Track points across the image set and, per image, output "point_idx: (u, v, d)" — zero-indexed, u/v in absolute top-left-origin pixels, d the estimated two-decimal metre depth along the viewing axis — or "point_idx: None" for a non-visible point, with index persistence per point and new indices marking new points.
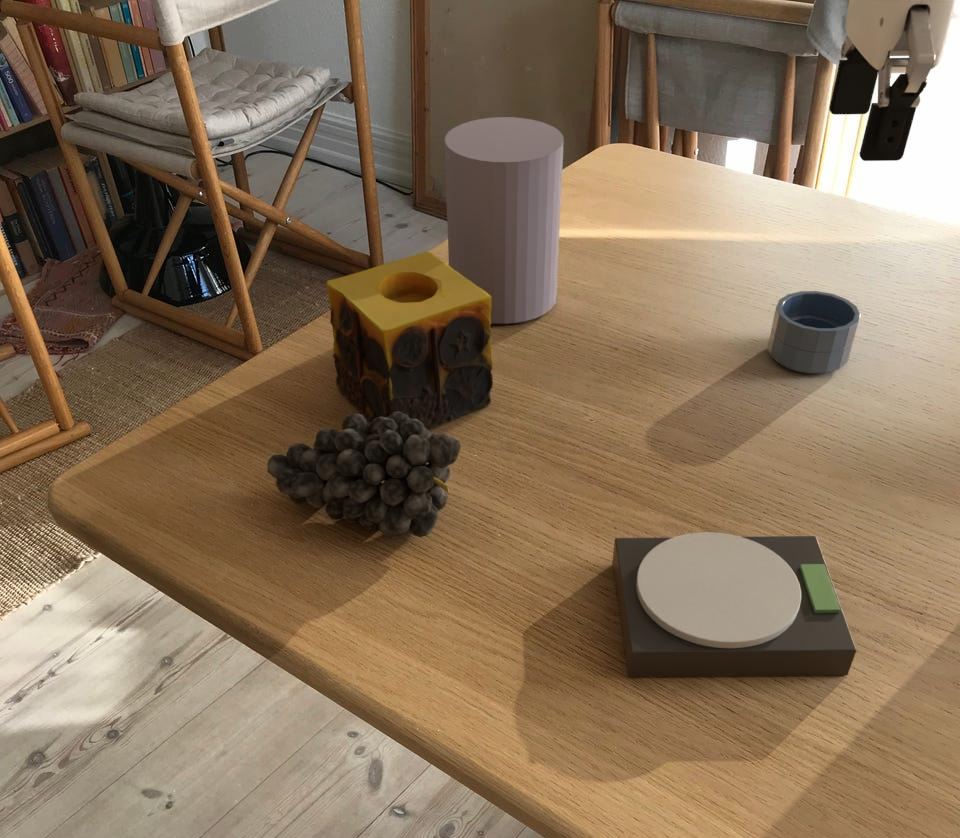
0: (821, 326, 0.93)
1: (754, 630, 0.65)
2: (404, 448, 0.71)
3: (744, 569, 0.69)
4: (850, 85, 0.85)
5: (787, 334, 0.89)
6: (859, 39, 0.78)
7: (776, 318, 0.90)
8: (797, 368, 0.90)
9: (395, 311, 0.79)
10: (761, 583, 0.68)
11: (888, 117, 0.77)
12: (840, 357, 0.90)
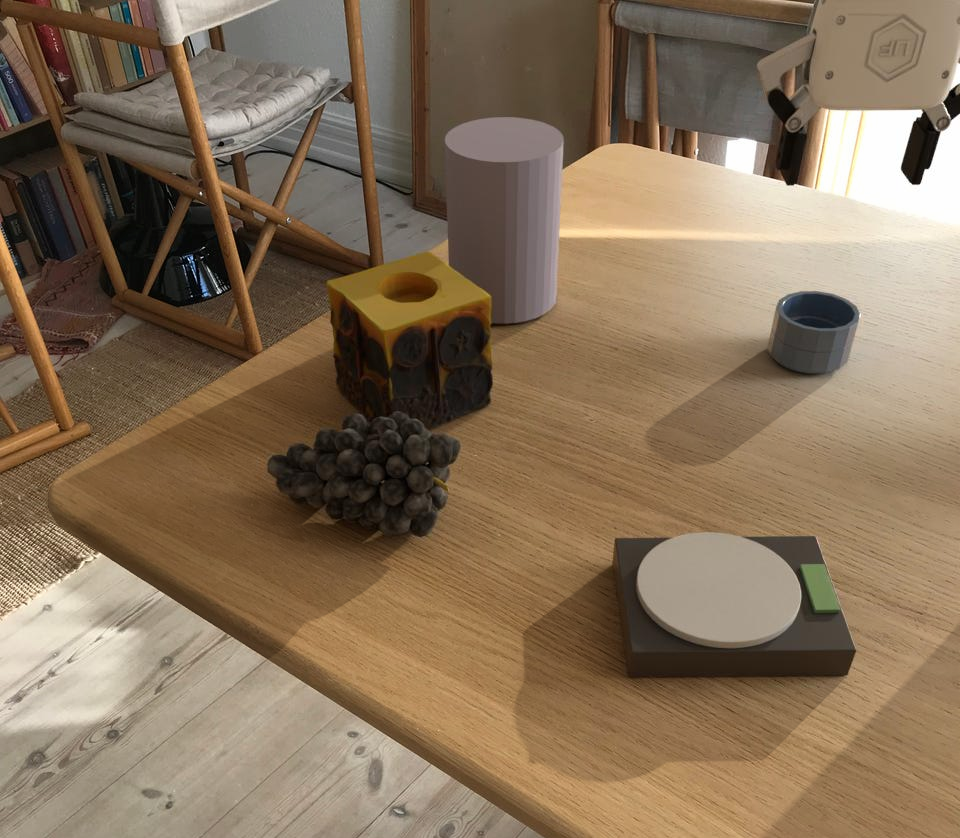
0: (821, 326, 0.93)
1: (754, 630, 0.65)
2: (404, 448, 0.71)
3: (744, 569, 0.69)
4: (911, 145, 0.81)
5: (787, 334, 0.89)
6: None
7: (776, 318, 0.90)
8: (797, 368, 0.90)
9: (395, 311, 0.79)
10: (761, 583, 0.68)
11: (781, 131, 0.80)
12: (840, 357, 0.90)
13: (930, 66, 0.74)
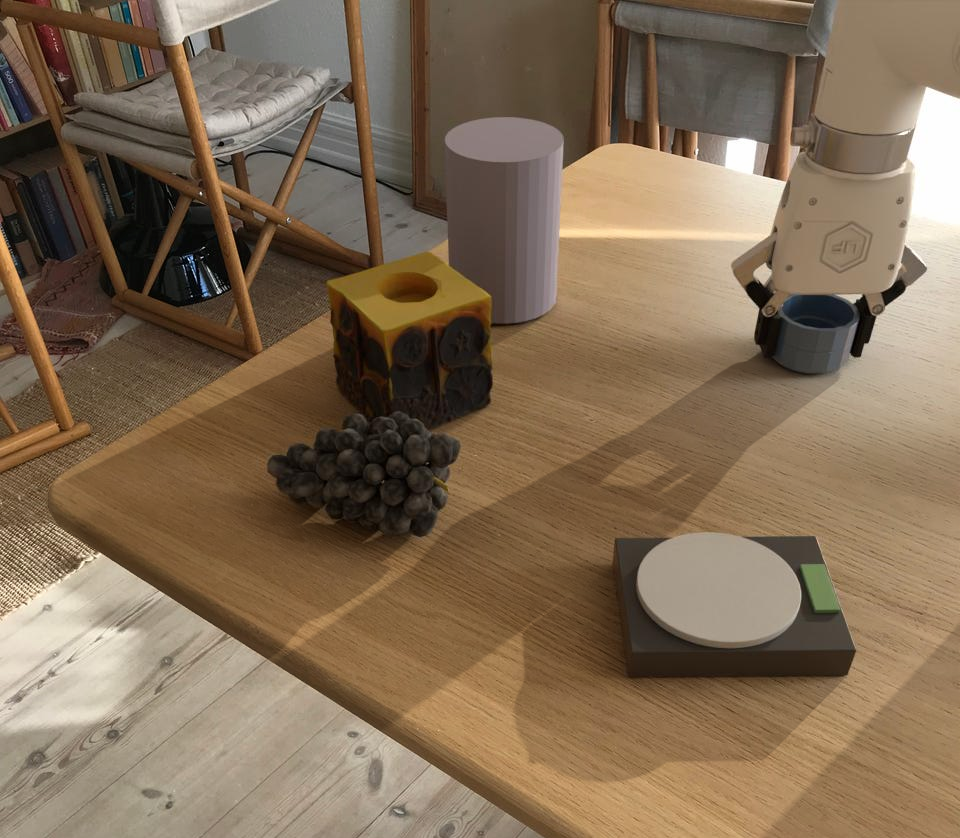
0: (821, 326, 0.93)
1: (754, 630, 0.65)
2: (404, 448, 0.71)
3: (744, 569, 0.69)
4: None
5: (786, 334, 0.89)
6: None
7: None
8: (797, 368, 0.90)
9: (396, 311, 0.79)
10: (761, 583, 0.68)
11: (759, 312, 0.90)
12: (840, 357, 0.90)
13: (877, 261, 0.84)
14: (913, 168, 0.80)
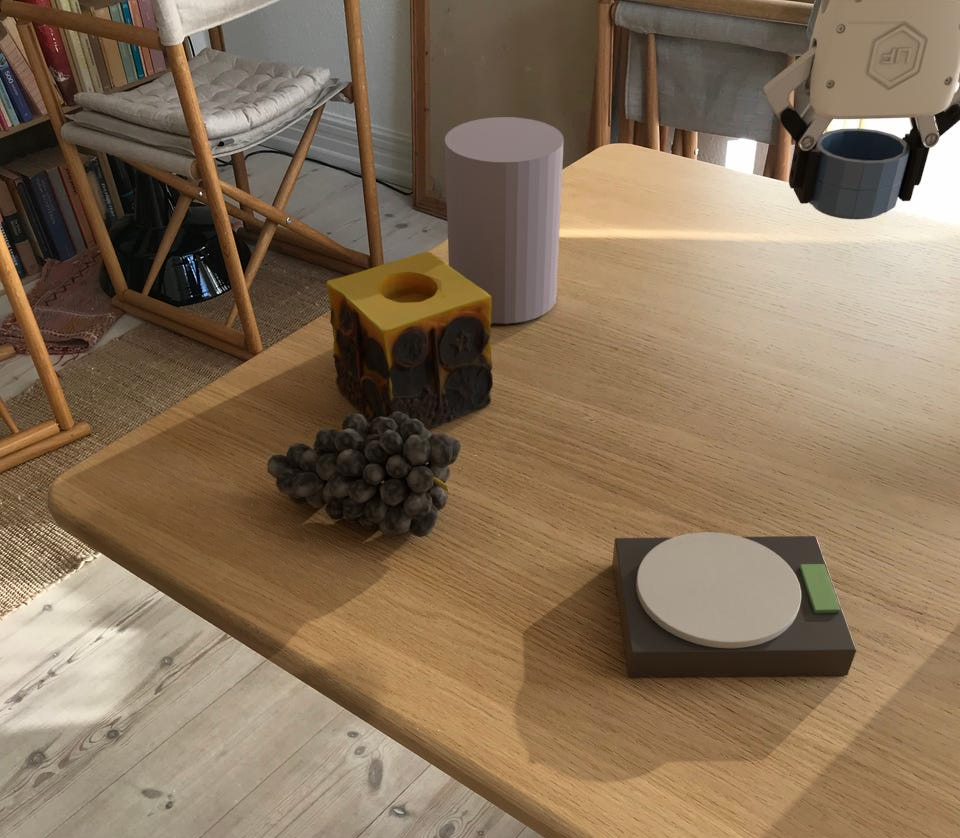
0: None
1: (754, 630, 0.65)
2: (404, 448, 0.71)
3: (744, 569, 0.69)
4: None
5: (826, 172, 0.79)
6: None
7: None
8: (838, 212, 0.80)
9: (395, 311, 0.79)
10: (761, 583, 0.68)
11: (794, 150, 0.80)
12: (888, 197, 0.79)
13: (932, 73, 0.73)
14: None
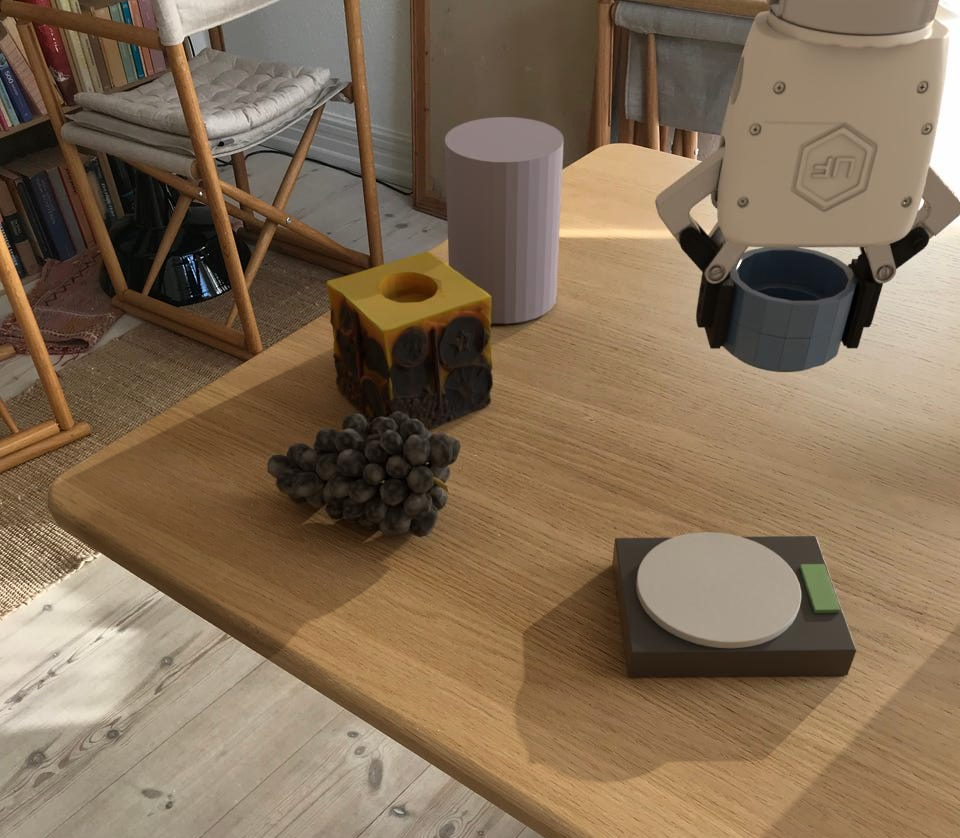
0: (799, 300, 0.61)
1: (754, 630, 0.65)
2: (404, 448, 0.71)
3: (744, 569, 0.69)
4: None
5: (743, 311, 0.58)
6: None
7: None
8: (759, 363, 0.59)
9: (395, 311, 0.79)
10: (761, 583, 0.68)
11: (702, 278, 0.59)
12: (826, 346, 0.58)
13: (885, 191, 0.52)
14: (946, 32, 0.48)
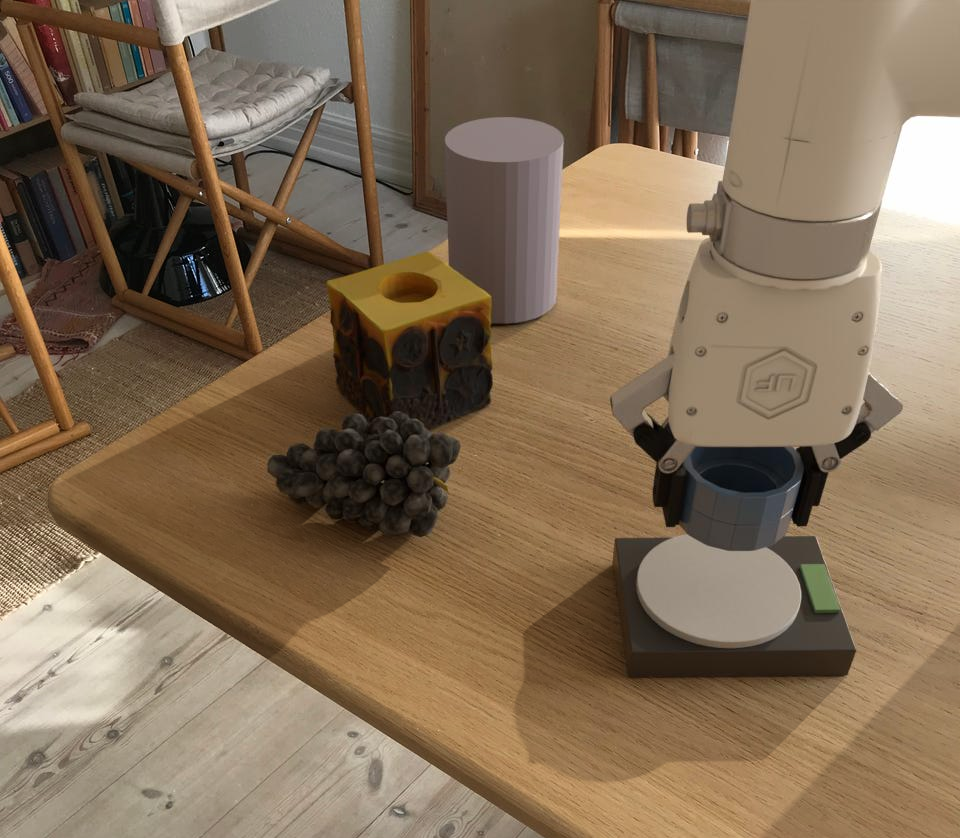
0: (751, 476, 0.64)
1: (754, 630, 0.65)
2: (404, 448, 0.71)
3: (744, 569, 0.69)
4: None
5: (696, 497, 0.60)
6: None
7: None
8: (712, 544, 0.61)
9: (395, 311, 0.79)
10: (761, 583, 0.68)
11: (657, 462, 0.61)
12: (776, 530, 0.61)
13: (826, 402, 0.55)
14: (878, 268, 0.51)
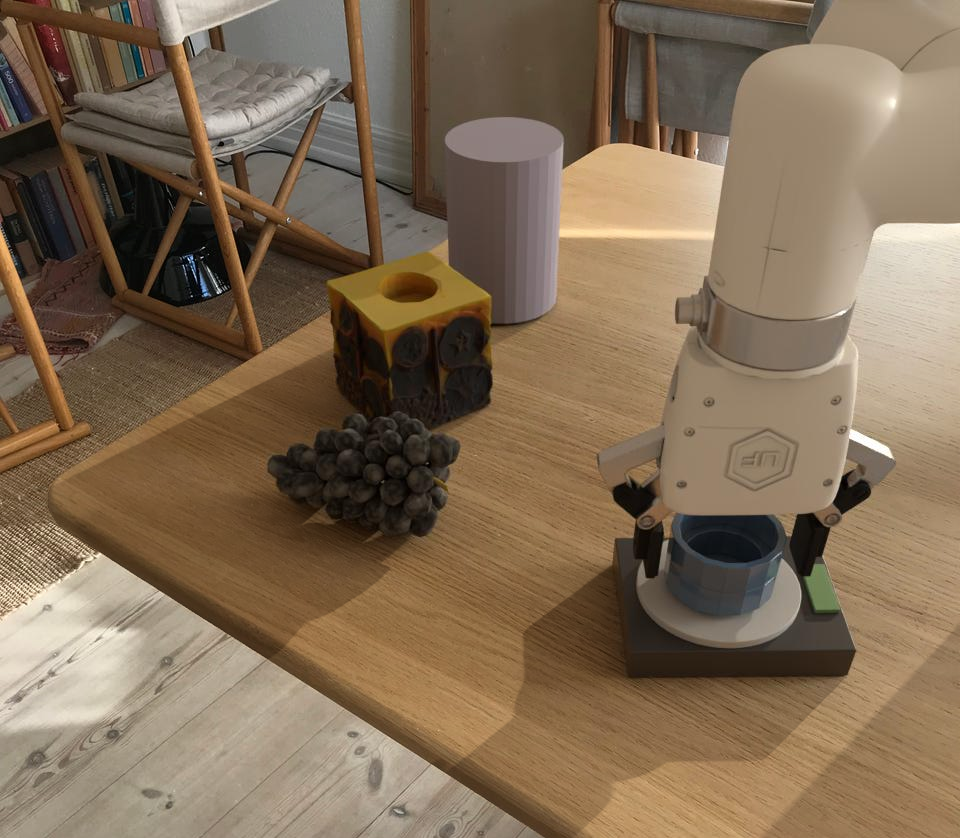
0: (737, 541, 0.68)
1: (754, 630, 0.65)
2: (404, 448, 0.71)
3: None
4: (798, 529, 0.65)
5: (684, 566, 0.64)
6: None
7: (671, 540, 0.65)
8: (700, 609, 0.65)
9: (395, 311, 0.79)
10: None
11: None
12: (760, 595, 0.65)
13: (808, 476, 0.58)
14: (855, 355, 0.54)
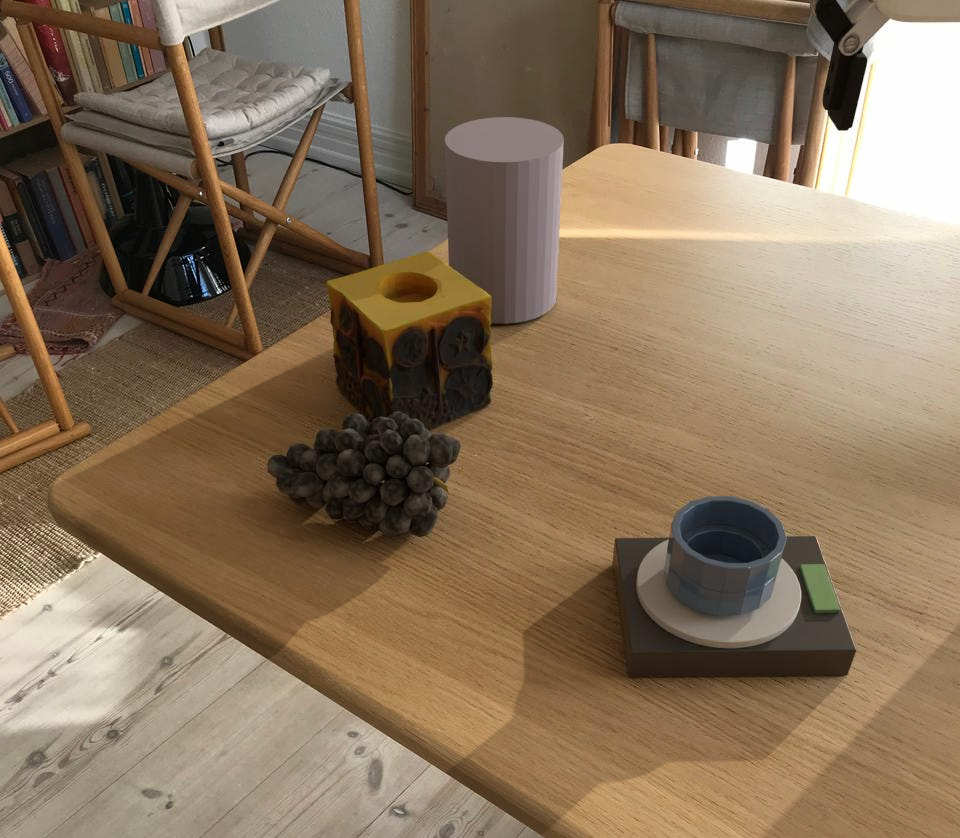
0: (737, 541, 0.68)
1: (754, 630, 0.65)
2: (404, 448, 0.71)
3: None
4: None
5: (684, 566, 0.64)
6: None
7: (671, 540, 0.65)
8: (700, 609, 0.65)
9: (395, 311, 0.79)
10: None
11: (832, 57, 0.60)
12: (760, 595, 0.65)
13: None
14: None
